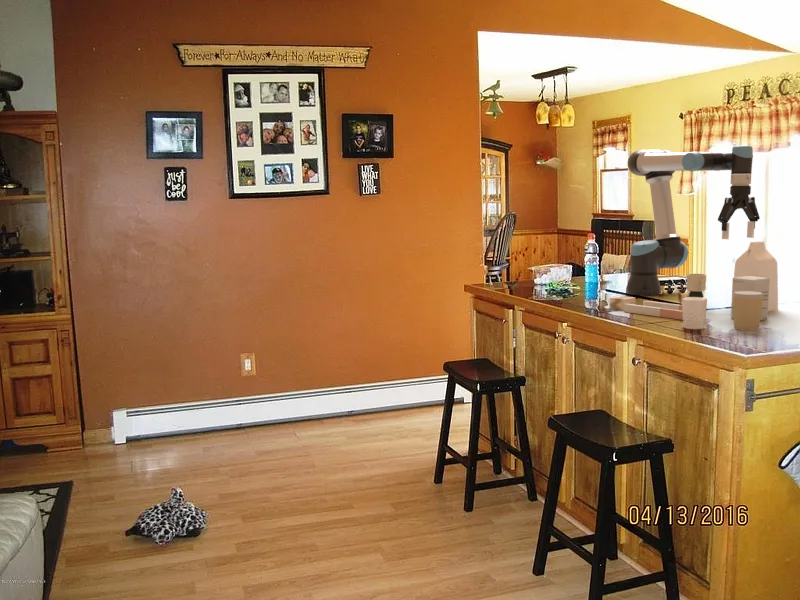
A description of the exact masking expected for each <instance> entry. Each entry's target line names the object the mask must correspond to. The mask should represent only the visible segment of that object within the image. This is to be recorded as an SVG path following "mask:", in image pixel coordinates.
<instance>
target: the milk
mask: <svg viewBox="0 0 800 600" xmlns="http://www.w3.org/2000/svg"><path fill="white" fill-rule="evenodd" d="M733 272H734V274H733V278H734V277H743V276H754V277H763V278H770V281H769V298H768V312H773V311H774V312H775V311H778V310H779V295H778V294H779V292H778V291H779V287H778V286H779V283H778V281H779V279H778V262H777V259H776V258H775V256H773V255H772V254H771V253H770V252H769V251H768V250H767V249H766V245H765V241H762V240H761V241H750V243H749V245H748V248H747V250H745V251H744V252H743V253H742V254H741V255H740V256H739V257H737V259H736V261H735V263H734V271H733ZM731 305H732V302H731Z"/></svg>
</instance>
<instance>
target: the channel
mask: <svg viewBox="0 0 800 600" xmlns="http://www.w3.org/2000/svg"><path fill="white" fill-rule="evenodd" d="M623 312H625V313H632V314H638V315H643V316H644V315H647V316H652V317H658V318H659V317H660V318H667V319H675V320H679V321H680V320H681V321H683V313H682V304H677V303H676V304H675V303H669V302H661V301H660V302H659V301H651V300H643V302H642V305H640V304H635V305H634V304H624V310H623Z"/></svg>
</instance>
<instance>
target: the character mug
mask: <svg viewBox="0 0 800 600" xmlns="http://www.w3.org/2000/svg"><path fill="white" fill-rule="evenodd" d="M706 283H707V274H704V273H687V275H686V291H688V292H689V294H688V297H701V298H704V293H703V292H705V291H706V290H707V286H706Z"/></svg>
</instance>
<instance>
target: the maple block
mask: <svg viewBox="0 0 800 600" xmlns="http://www.w3.org/2000/svg"><path fill="white" fill-rule="evenodd" d="M624 304H634V305H636V297H633V296H627V295H618V296H617V295H616V296H612V297H609V309H613V310H620V311H624Z"/></svg>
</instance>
